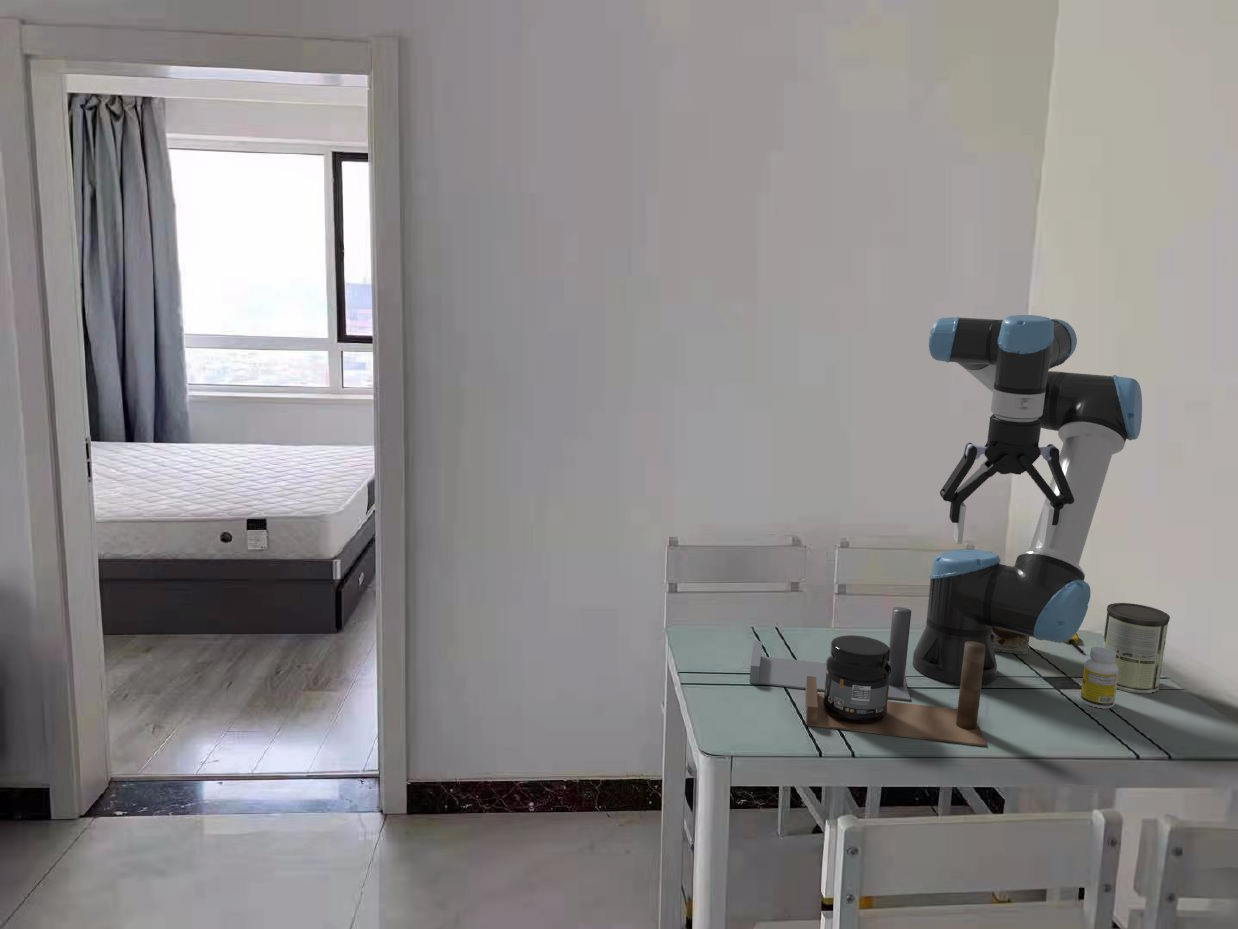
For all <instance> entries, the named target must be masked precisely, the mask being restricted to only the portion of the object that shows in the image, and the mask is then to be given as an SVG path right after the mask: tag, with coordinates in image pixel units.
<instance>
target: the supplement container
mask: <svg viewBox="0 0 1238 929" xmlns="http://www.w3.org/2000/svg"><path fill="white" fill-rule="evenodd" d="M829 653H830V655H829V656H828V657H827V659H826V662H825V663H826V666H827V669H826V681H825V691H824V693H823V694H824V699H823V705H824V708H825V710H826V711H827V712H828V713H829V714H830V715H832V716H833V717H835V718H837V719H839V720H842V721H845V722H849V723H854V724H871V723H876V722H878V721H880V720H882V719H883V718H884V717H885V716H886V713H887V701H889V698H888V691H889V680H890V675H891V667H890V665H889V663H888V661H889V656H890V649H889V645H887V644H886V643H885V642H883V641H882V640H879V639H876V638H872V637H868V636H863V635H853V634H852V635H851V634H850V635H841V636H837V637H835V638H833V639H832V640H831V642H830V652H829Z"/></svg>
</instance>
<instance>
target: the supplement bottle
mask: <svg viewBox="0 0 1238 929" xmlns="http://www.w3.org/2000/svg"><path fill="white" fill-rule="evenodd" d="M1089 657H1090V658H1089V659H1087V660H1086V661H1085V662H1084V666H1083V674H1082V682H1081V683H1082V684H1081V691H1080V701H1082V703H1083V704H1085V705H1087V706H1089V705H1090V706H1089V707H1091V706H1092V707H1093V708H1095V707H1097V708H1096V709H1100V708H1102V709H1103V710H1107V709H1108V710H1109V709H1112V708H1113V707H1114V705H1115V703H1116V702H1115V700H1116V694H1117V689H1116V687H1117V678H1118V666H1117V665H1116V664H1115V663H1113V662H1115V658H1116V653H1115V652H1114V651H1113V650H1110V649H1107V648H1103V646H1102V647H1101V646H1094V647H1091V649H1090V652H1089ZM1092 707H1091V708H1092ZM1102 709H1101V710H1102Z"/></svg>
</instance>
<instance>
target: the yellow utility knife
mask: <svg viewBox="0 0 1238 929" xmlns="http://www.w3.org/2000/svg"><path fill="white" fill-rule="evenodd" d="M1065 643H1067V645H1070V644H1072V645H1071V646H1073V647H1074V648H1076V649H1077V650H1078V652H1080V653H1081V654H1084V653H1085V652H1084V649H1082V648H1081V647H1079V635H1078V633H1076V634H1075V635H1074V636H1073V637H1072V638H1071V639H1070V640H1068V641H1066V642H1063V644H1065Z"/></svg>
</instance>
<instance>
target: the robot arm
mask: <svg viewBox="0 0 1238 929" xmlns="http://www.w3.org/2000/svg"><path fill="white" fill-rule="evenodd" d="M928 336H929V338H928V351H929V354H930V356H931V357H932V359H934V360H936V361H940V362H944V363H945V362H946V363H956V364H958V365H959V366H960V367H962V368H963V369H964V370H966V371H967V372H968V373H969V374H970V375H972V376H973V377H974V378H975V379H976V380H978V381H979V383H981V384H982V385H983V386H984V387H986V388H987V389H988V390H989V391H991V392H992V397H991V403H990V404H991V406H990V412H991V413H992V414H991V416H989V424H988V432H987V440H986V443H985V445H984V446H982V445H976V444H974V443H973V442H968V443H966V444H965V446H964V447H965V448H964V451H963V455H962V457H961V459H960V460H959V462H958V463H957V465H956V467H955V468H954V469H953V470H952V472H951V474H950V475H949V477H948V479H947V480H946V482H945V484H944V485H943V486H942V488H941V489H940V491H939V495H940V497H941V498H942V499H943V501H944V502H949V503H950V506H949V507H950V508H949V516H948V517H949V520H950V521H951V523H952V524H954V527H953V528H954V529H953V539H954V541H955V543H956V544H958V545H962V544H963V538H964V529H965V520H966V519H965V518H966V509H967V505H965V503H964V502H965V501H966V500H967V499H968V498H969V497H970V496H971V495H972V494H973V493H974V492H975V491H977V489H979V488H980V486H982V485H983V484H984V483H985V482H986V481H987V480H988V479H989V478H992V477H993V476H994V475H995V474H997V473H999V474H1000V475H1009V474H1014V475H1022V474H1023V473H1025V472H1026V473H1027V474H1028V475H1029V477H1030V478H1031V479H1032V480H1033V482H1034V483H1035V484H1036V485H1037V487H1038V488H1039V489H1040V491H1041V492H1042V494H1044V496H1045V499H1044V502H1043V506H1042V509H1041V512H1040V514H1039V517H1038V518H1039V519H1038V522H1037V524H1036V527H1035V531H1034V533H1033V537H1032V540H1031V543H1030V546H1029V549H1028V550H1026V551H1024V552H1021V553H1019V554H1018V555H1017V557H1016V560H1015V562H1014V566H1012V565H1007V564H1001V558H1000V555H999V554H998V553H995V552H992V551H988V550H981V549H953V550H947V551H944V552H941V553H939V554H937V555H936V556H935V557H934V559H933V562H932V566H931V574H930V575H929V579H930V582H929V591H928V601H927V602H928V603H927V611H926V612H927V613H926V622H925V627H924V629H923V632H922V634H921V636H920V638H919V640H918V642H917V644H916V646H915V648H914V651H913V656H912V666H913V668H915V670H916V671H918V672H919V673H921V674H923V675H924V676H927V677H929V678H932V679H934V680H938V681H942V682H945V683H950V684H955V685H960V683H961V674H962V665H963V656H964V647H965V642H968V641H973V642H979V643H982V644H984V645H985V646H986V649H985V658H984V667H983V675H982V684H981V685H986V684H989V683H992V682H993V681H994V680H996V678H997V670H998V664H997V659H996V655H995V651H994V650H993V645H992V641H991V627H995V628H999V629H1003V630H1006V631H1010V632H1014V633H1018V634H1022V635H1026V636H1030V637H1029V638H1034V639H1036V640H1038V641H1048V642H1053V643H1058V644H1059V643H1060V644H1062V643H1063V642H1066V641H1068V640H1070V639H1071V638H1072V637H1073V636H1074V635H1075V634H1077V632H1078V631H1079V629H1080V627H1081V626H1082V624H1083V622H1084V619H1085V616H1086V615H1087V612H1088V608H1089V603H1090V599H1091V587H1090V585H1089V583H1088V582H1086V581H1085V577H1086V573H1085V572H1084V571H1083V569H1082V567H1081V566H1080V561H1081V558H1082V555H1083V551H1084V549H1085V545H1086V543H1087V542H1086V541H1087V538H1088V535H1089V532H1090V528H1091V526H1092V523H1093V519H1094V515H1095V512H1096V509H1097V506H1098V502H1099V499H1100V496H1101V493H1102V490H1103V486H1104V482H1105V480H1106V477H1107V473H1108V470H1109V466H1110V464H1111V460H1112V457H1113V455H1115V454H1117V453H1120V452H1122V450H1124V447H1125V445H1126V441H1127V440H1128V441H1134V440H1137V439H1138V438H1139V436H1140V432H1141V430H1142V429H1141V427H1142V417H1143V395H1142V390H1141V385H1140V383H1139V382H1138V381H1137V380H1136V379H1134V378H1132V377H1126V376H1124V377H1123V376H1117V375H1116V374H1113V375H1103V374H1091V373H1077V372H1075V373H1074V372H1065V371H1055V370H1054V371H1053V370H1052V371H1051V370H1050V369H1054V368H1055V367H1059V366H1060V365H1063V364H1064V363H1065V362H1066V361H1067V360H1068V359H1069V358H1070V357H1071V356H1072V355H1073V354H1074V352H1075V351H1076V348H1077V344H1078V338H1077V334H1076V332H1075V329H1074V328H1073V327H1072V326H1071V325H1070V323H1068V322H1067V321H1065V320H1062V319H1058V318H1049V317H1047V316H1042V315H1036V314H1035V315H1033V314H1016V315H1009V316H1007V317H1005V318H1004V319H990V318H977V317H976V318H973V317H972V318H970V317H959V316H955V317H953V316H952V317H940V318H938V319H937V320H936V321H934V323H933V325H932V326H931V329H930V333H929V335H928ZM1042 429H1045V430H1048V431H1055V432H1057V434H1058V437H1059V439H1060V441H1061V442H1062V447H1061V450H1060V449H1059V448H1057V447H1056V446H1055V445H1054V444H1052V443H1049V444H1047V446H1040V444H1039V442H1040V437H1041V430H1042ZM982 455H983V456H985V458H986V460H984V462H982V463H981V465H980V466H979V468H978V469H977V470H976V471H975V472H974V473H972V474H971V476H970V477H968V478H967V479H966V481H964V480H965V478H966V477H967V475H968V473H969V472H970V470H971V469H972V467H973V465H974V463H975V462H976V460H978V459H980V457H981V456H982ZM1041 456H1042V459H1043V460H1045V461H1046V462H1047V464H1048V467H1049V470H1050V472H1051V474H1052V476H1051V480H1050V481H1051V482H1050V484H1048V483H1047V482H1046V480H1045V479H1044V478H1043V477H1042V475H1041V474H1040V473H1039V471H1038V470H1037V468H1036V467H1035V465H1033V464H1034V463H1035V462H1036V461H1037V460H1038V459H1039V458H1040V457H1041ZM963 481H964V482H963ZM962 482H963V483H962ZM1063 644H1064V643H1063Z"/></svg>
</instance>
